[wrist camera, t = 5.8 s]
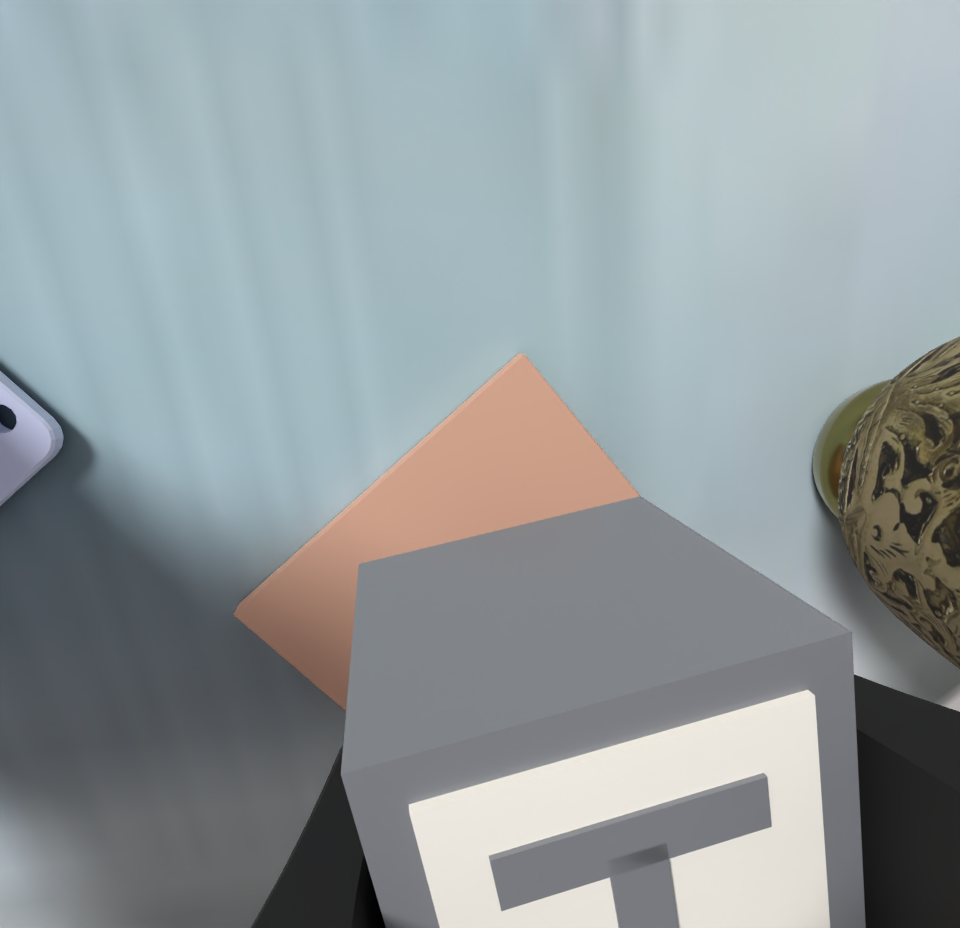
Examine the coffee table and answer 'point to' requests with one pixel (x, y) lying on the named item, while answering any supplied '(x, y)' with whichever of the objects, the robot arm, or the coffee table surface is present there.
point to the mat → (434, 512)
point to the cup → (902, 492)
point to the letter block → (600, 734)
